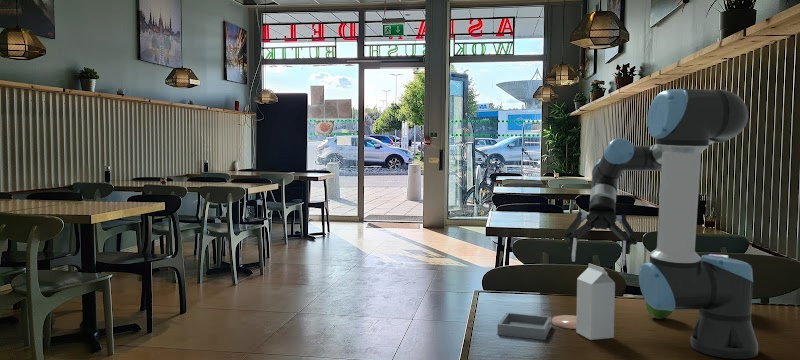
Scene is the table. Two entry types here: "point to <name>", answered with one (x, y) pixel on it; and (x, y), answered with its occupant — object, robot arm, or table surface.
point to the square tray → (524, 326)
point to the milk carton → (595, 304)
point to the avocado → (657, 312)
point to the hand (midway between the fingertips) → (598, 260)
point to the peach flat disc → (565, 321)
